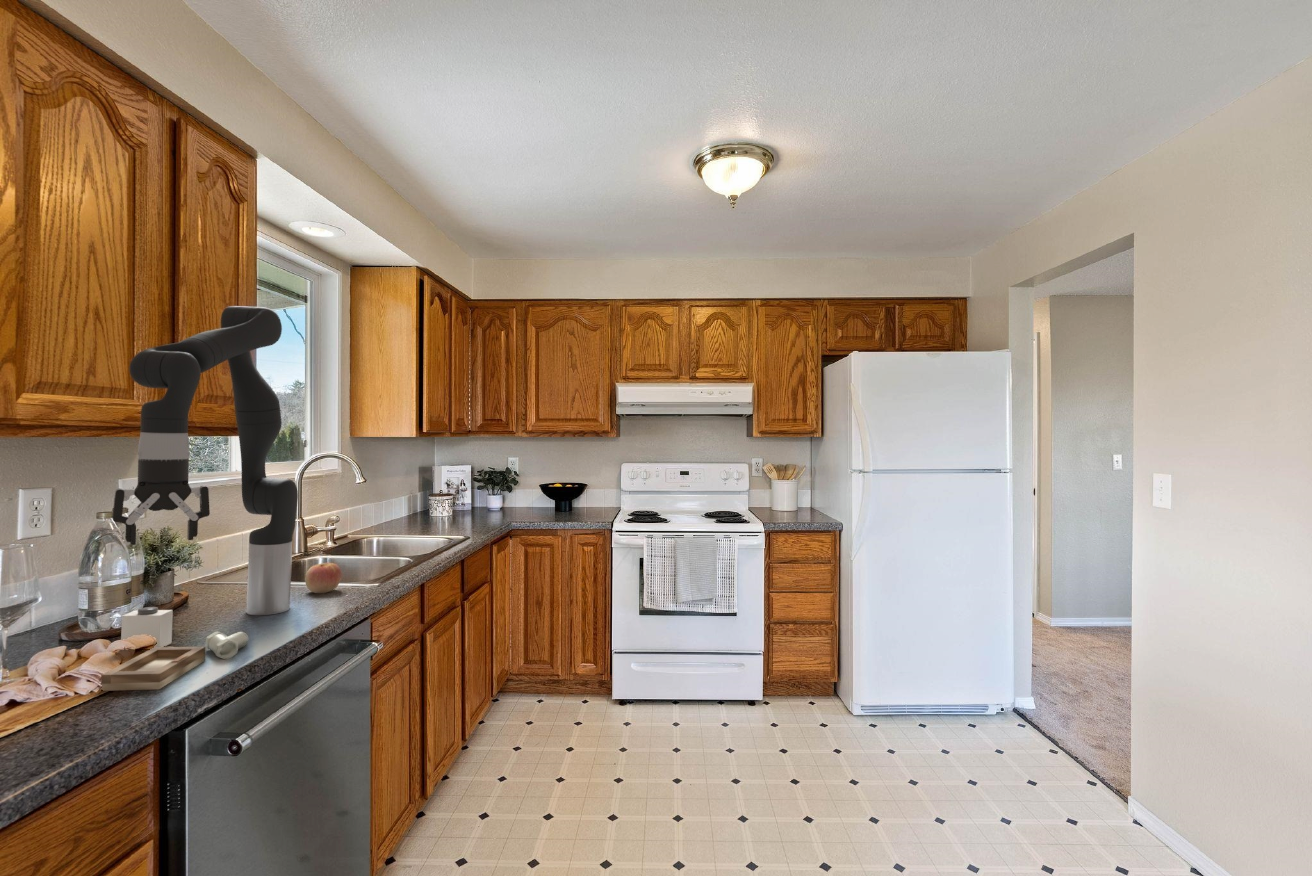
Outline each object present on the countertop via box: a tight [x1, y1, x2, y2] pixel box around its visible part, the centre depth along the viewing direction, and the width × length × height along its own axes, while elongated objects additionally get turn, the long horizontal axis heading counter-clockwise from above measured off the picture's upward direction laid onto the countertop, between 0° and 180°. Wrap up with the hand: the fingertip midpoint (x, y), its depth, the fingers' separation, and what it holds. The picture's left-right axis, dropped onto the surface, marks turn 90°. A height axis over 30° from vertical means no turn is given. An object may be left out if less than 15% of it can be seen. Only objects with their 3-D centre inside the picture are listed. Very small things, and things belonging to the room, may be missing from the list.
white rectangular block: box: [120, 606, 174, 647], centre depth 127 cm, size 4×7×8 cm, turn 99°
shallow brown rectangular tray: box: [100, 646, 207, 692], centre depth 113 cm, size 14×9×3 cm, turn 9°
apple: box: [304, 562, 342, 594], centre depth 174 cm, size 9×9×8 cm
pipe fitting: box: [204, 630, 249, 660], centre depth 126 cm, size 8×4×7 cm
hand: (162, 541), depth 117 cm, fingers open, 8 cm apart
